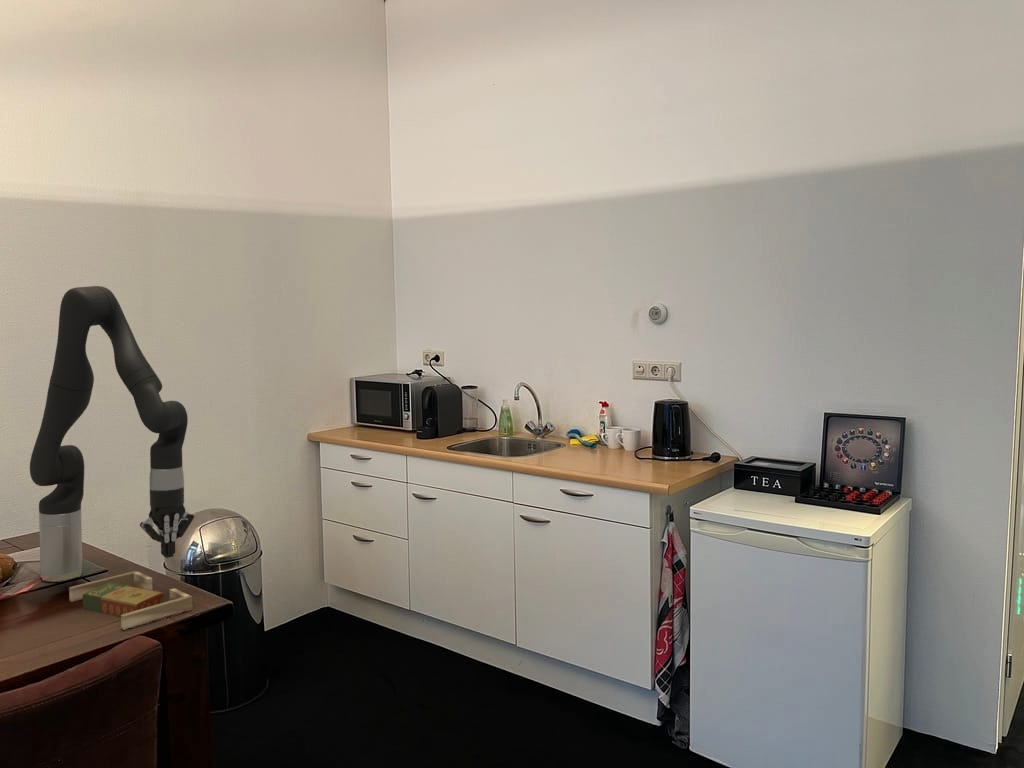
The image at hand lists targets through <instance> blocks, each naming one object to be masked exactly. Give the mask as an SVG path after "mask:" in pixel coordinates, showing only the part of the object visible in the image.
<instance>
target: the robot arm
mask: <svg viewBox="0 0 1024 768" xmlns="http://www.w3.org/2000/svg"><path fill="white" fill-rule="evenodd" d="M59 306H60V308H59V317H58V329H57V331H58V332H57V333H58V334H57V341H56V348H55V352H54V353H55V354H54V360H53V365H52V370H51V375H50V378H49V383H48V389H47V395H46V400H45V407H44V411H43V414H42V415H43V417H42V419H41V424H40V428H39V431H38V434H37V437H36V440H35V444H34V447H33V449H32V453H31V455H30V462H29V473H30V474H29V475H30V478H31V480H32V483H34V484H35V485H37V486H39V487H49V486H50V487H51V486H54V485H56V486H55V488H54V489H53V490H52V491H51V492H50V493H48V494H47V495H46V496H44V497H42V498H41V499H40V500H39V503H38V524H39V555H40V556H39V560H40V563H39V564H40V565H39V567H40V568H39V569H40V576H41V575H43V576H58V575H64V574H68V573H71V572H74V571H77V570H79V569H81V568H82V569H83V536H82V535H83V533H82V531H83V530H82V529H83V527H82V501H83V499H84V491H85V490H84V489H85V488H84V487H85V460H84V456H83V453H82V451H81V450H80V449H79V447H78V446H77V445H73V444H68V445H62V442H63V441H64V438H65V436H66V434H67V433H68V431H69V430H70V429H71V428H72V427H73V426H74V425H75V423H77V421H78V420H79V418H80V417H81V416H82V415H83V414H84V412H85V411H86V410H87V408H88V407H89V404H90V401H91V397H92V393H93V392H92V391H93V388H94V382H95V376H94V372H93V368H92V366H91V363H90V360H89V358H88V356H87V349H86V348H87V347H86V346H87V340H88V336H89V332H90V328H91V327H95V326H100V328H101V329H102V330H103V331H104V332H105V333H106V335H107V337H108V338H109V340H110V343H111V346H112V350H113V357H114V364H115V369H116V372H117V374H118V376H119V377H120V378H119V379H120V380H122V382H123V384H124V386H125V388H126V389H127V390H128V392H129V394H130V395H131V396H132V397H133V400H134V404H135V407H136V410H137V412H138V415H139V418H140V420H141V422H142V424H143V425H144V426H145V427H146V428H147V429H148V431H150V432H152V433H154V434H158V437H157V440H156V441H155V442H154V443H153V444H151V446H150V449H149V456H150V457H149V458H150V459H149V462H150V463H149V464H150V465H149V466H150V469H149V470H150V471H149V477H148V479H149V507H150V511H149V513H148V518H147V519H146V520H144V521H141V522H139V526H140V528H141V529H142V530H143V531H144V532H145V533H146V534H147V535H148V536H149V537H150V539H152V541H156V542H158V543H160V553H161V555H162V556H163V557H164V558H166V559H168V558H172V557H174V555H175V554H176V540H177V539H179V538H182V537H183V536H184V535H185V533H186V531H187V530H188V528H189V527H190V525H191V523H193V522H192V521H193V520H194V518H195V515H194V514H192V513H189V512H187V511H186V507H185V506H184V503H185V478H184V476H185V475H184V467H183V447H184V446H183V445H184V442H185V437H186V433H187V428H188V423H189V422H188V412H187V410H186V407H185V406H184V404H182V403H181V402H179V401H178V400H168V401H167V400H166V401H163V400H162V398H161V395H160V392H161V391H162V390H163V384H162V382H161V379H160V377H158V375H157V373H156V372H155V371H154V368H153V367H152V366H151V365H150V363H149V362H148V360H147V358H146V357H145V355H144V353H143V351H142V350H141V348H140V346H139V344H138V343H137V340H136V338H135V336H134V333H133V332H132V329H131V326H130V324H129V323H128V320H127V319H126V316H125V313H124V312H123V309H122V307H121V305H120V302H119V301H118V299H117V297H116V295H115V294H114V293H113V292H112V290H110V289H109V288H107V287H105V286H100V285H90V286H77V287H72V288H70V289H68V290H67V291H66V292H65V293H64V295H63V296H62V299H61V302H60V305H59ZM154 525H155V526H156V530H157V531H156V530H155V528H154V527H155V526H154Z"/></svg>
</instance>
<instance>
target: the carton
mask: <svg viewBox="0 0 1024 768" xmlns="http://www.w3.org/2000/svg"><path fill="white" fill-rule="evenodd" d="M164 598H165V597H164V592H163V591H158V590H153V589H152V590H148V589H143V588H138V587H136V586H127V585H122V584H117V583H112V582H110V583H108V584H105V585H103V586H100V587H98V588H95V589H93V590H90V591H88V592H85V593H83V599H82V608H83V610H88V611H93V612H98V613H102V614H105V615H106V614H107V615H110V616H115V617H119V618H121V615H123V614H126V613H129V612H133V611H136V610H140V609H143V608H147V607H150V606H154V605H157V604H161V603H164V602H165V601H164Z"/></svg>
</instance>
